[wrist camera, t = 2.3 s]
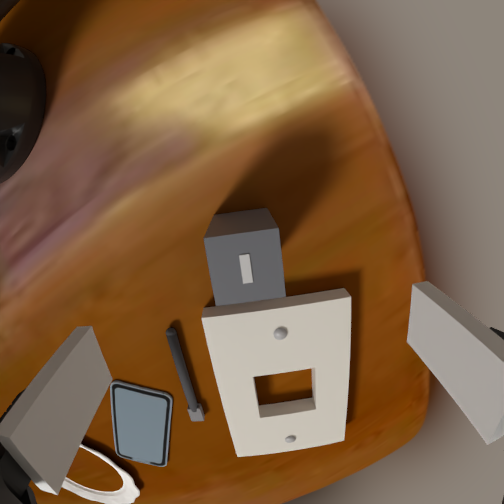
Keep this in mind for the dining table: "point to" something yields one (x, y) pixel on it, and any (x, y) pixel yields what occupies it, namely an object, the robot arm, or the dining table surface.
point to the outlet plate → (282, 368)
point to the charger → (244, 257)
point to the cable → (184, 376)
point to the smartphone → (141, 423)
